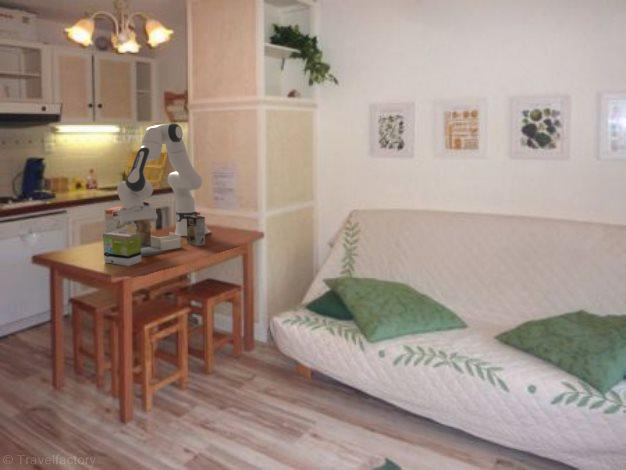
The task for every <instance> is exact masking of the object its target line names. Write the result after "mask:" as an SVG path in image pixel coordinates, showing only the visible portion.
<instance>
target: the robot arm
mask: <svg viewBox="0 0 626 470" xmlns="http://www.w3.org/2000/svg"><path fill="white" fill-rule="evenodd" d="M183 135H184V134H183V129H182V127H181V126H180V125H179V124H178V123H162V124H157V125H151V126H149V127H147V128H146V130H145V132H144V134H143V137H142V141H141V146H140V148H139V149H138V150H137V153H136V155H135V158H134V161H133V164H132V165H131V170H130V171H129V172H128V175H127V176H126V178H125V180H124V181H121V182H120V183H119V184H118V185H117V188H116V191H117V196H118V198H119V199H120V200H119V201H121V203H122V204H123V205H122V207H124V208H125V209H119V210H117V215H118V216H119V220H120V223H121V224H122V225H127V226H129V225H130V226H131V227H132V228H134V230H135V231H136V230H138V229H139V227H138V226H136V221H139V220H150V229H152V227H153V226H152V222H154V223H155V222H156V221H157V219H158V214H157V212H156V211H155V209H154V207H152V206H151V205H152V204H151V202H146V201H143V200H146V199H148V198H150V197H151V196H152V195H153V192H154V186H153V185H152V184H151V183H150V181H149V180H148V179H147V178H146V176H145V170H146V167H147V163H148V162H154V161H157V160H158V159H159V158H160V156H161V154H162V150H163V145H165V149H166V154H167V156H168V160H169V164H170V165H171V167H172V168H174V169H175V171H173V172H169V174H168V176H167V183H168V185H169V186H170V188H171V189H172V191H173V194H174V197H175V203H176V204H175V205H176V207H175V208H176V211H175V220H176V226H175V231H174V233H175V234H178V235H181V237H187V216H191V215H197V216H201V211H196V207H195V206H196V205H195V203H196V202H195V198H194V197H193V196H192V194H191V192H190V191H194V190H199V189H200V188H201V187H202V185H203V178H202V176H201V174H199V173H198V172H197V171H196V170H195V168H194V166H193V165H192V163H191V161H190V160H189V156H188V153H187V149H186V148H187V147H186V145H185V142H184V140H183ZM207 234H211V230H209V229H208V227H207V223H206V222H205V235H207Z"/></svg>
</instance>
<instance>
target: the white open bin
mask: <svg viewBox="0 0 626 470" xmlns="http://www.w3.org/2000/svg"><path fill="white" fill-rule="evenodd" d="M151 247H154V248H157V249H160V250H163V252H164V251H169V250H175V249H182V236H181V235H178V234H175V232H171V231H170V232H169V234H168V236H167V235H166V236H159V237H158V236H154V235H151Z"/></svg>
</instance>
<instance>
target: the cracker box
mask: <svg viewBox="0 0 626 470" xmlns="http://www.w3.org/2000/svg"><path fill="white" fill-rule="evenodd" d="M119 209H125V208H124V206H114V207H111V208H107V209H104V225H105V227H104V228H105V234H106V233H110V232H113V231H123V232H128V225H122V224H121V223H120V220H119V216H118V215H117V210H119Z"/></svg>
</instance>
